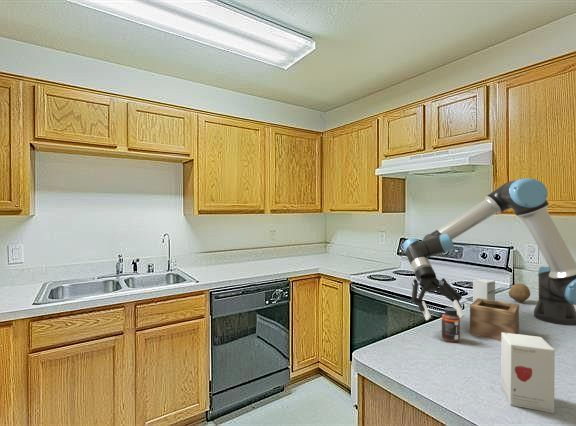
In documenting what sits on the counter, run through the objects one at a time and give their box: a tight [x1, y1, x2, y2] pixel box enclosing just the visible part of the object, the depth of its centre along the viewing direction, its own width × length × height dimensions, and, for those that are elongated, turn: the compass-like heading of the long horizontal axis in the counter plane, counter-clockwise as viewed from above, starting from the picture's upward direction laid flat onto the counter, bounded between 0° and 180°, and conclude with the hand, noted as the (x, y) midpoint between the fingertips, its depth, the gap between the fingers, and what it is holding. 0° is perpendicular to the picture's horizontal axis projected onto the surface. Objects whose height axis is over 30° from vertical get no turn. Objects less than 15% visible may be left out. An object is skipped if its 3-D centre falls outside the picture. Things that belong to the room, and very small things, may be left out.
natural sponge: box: [508, 282, 531, 303], centre depth 168 cm, size 9×9×10 cm
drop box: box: [469, 298, 520, 342], centre depth 125 cm, size 14×14×11 cm
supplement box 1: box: [472, 278, 496, 303], centre depth 163 cm, size 7×7×13 cm
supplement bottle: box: [441, 307, 461, 343], centre depth 119 cm, size 6×6×11 cm
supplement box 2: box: [500, 332, 556, 414], centre depth 80 cm, size 9×9×15 cm
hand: (445, 318), depth 120 cm, fingers open, 13 cm apart
